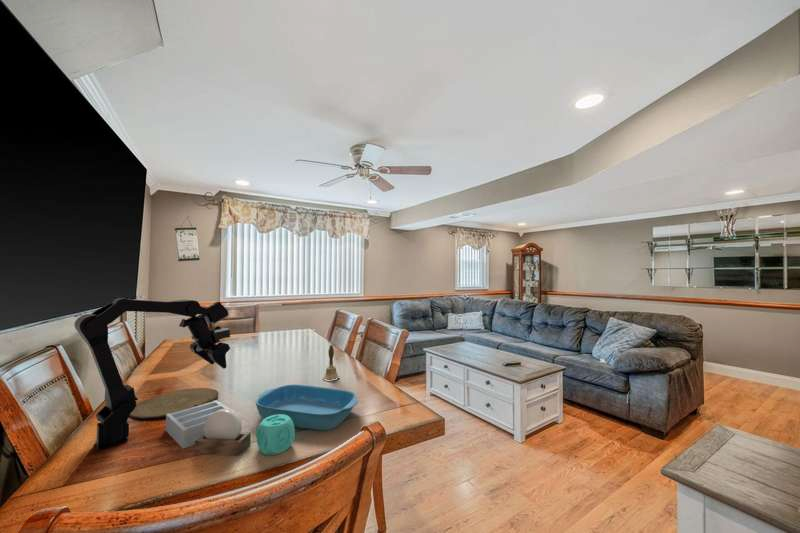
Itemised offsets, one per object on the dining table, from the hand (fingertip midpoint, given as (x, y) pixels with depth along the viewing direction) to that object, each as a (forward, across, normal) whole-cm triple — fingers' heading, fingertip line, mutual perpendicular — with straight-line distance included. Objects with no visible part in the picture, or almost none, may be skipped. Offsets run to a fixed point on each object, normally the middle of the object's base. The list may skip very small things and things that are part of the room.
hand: (219, 365), depth 120 cm
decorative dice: (+13, -42, +10) cm, 45 cm away
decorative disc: (+12, +16, +14) cm, 24 cm away
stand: (+8, -30, +18) cm, 37 cm away
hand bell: (+35, -10, -36) cm, 51 cm away
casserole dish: (+21, -33, -7) cm, 40 cm away
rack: (+9, -14, +17) cm, 24 cm away
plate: (+3, -30, +16) cm, 34 cm away
